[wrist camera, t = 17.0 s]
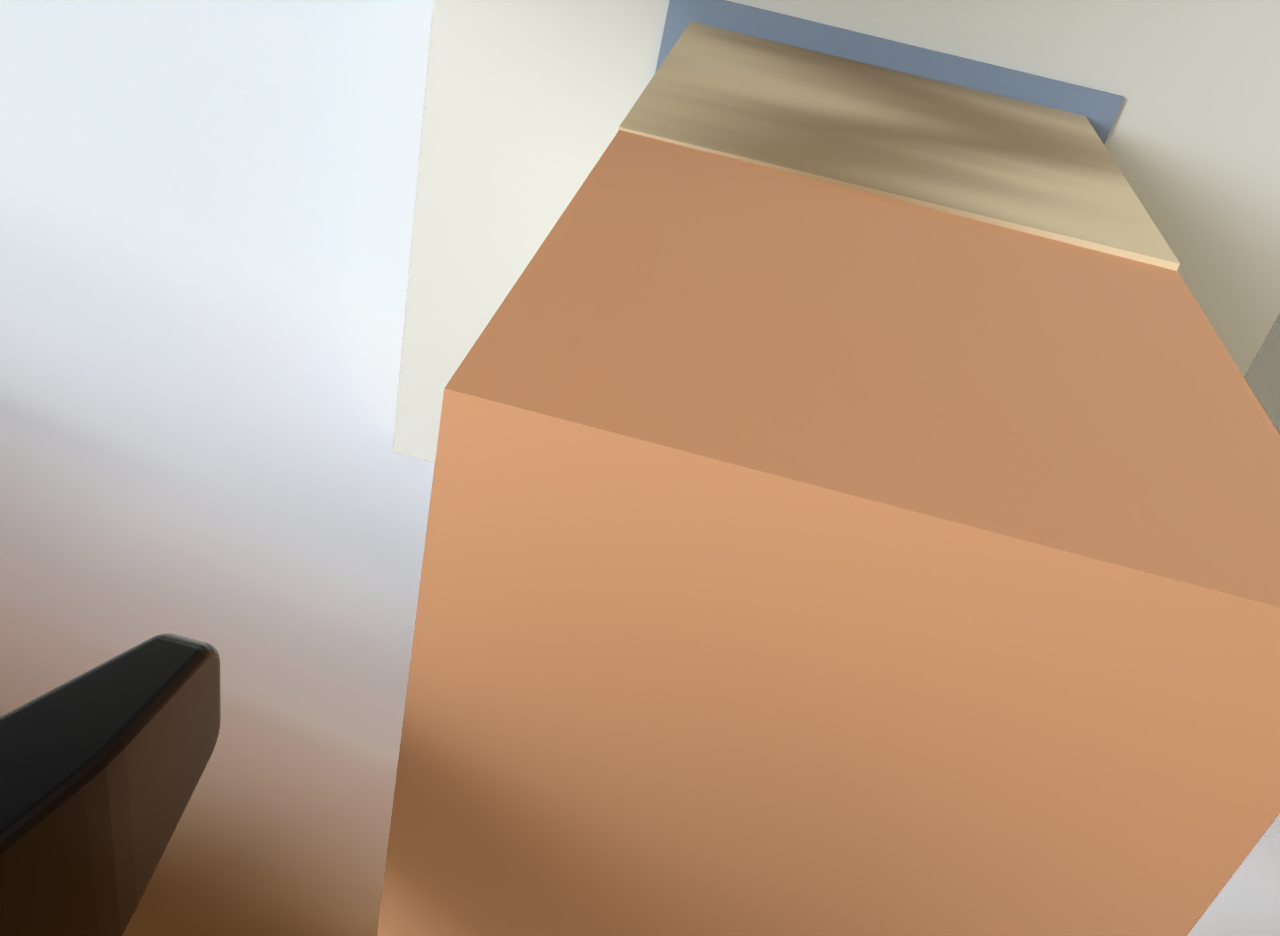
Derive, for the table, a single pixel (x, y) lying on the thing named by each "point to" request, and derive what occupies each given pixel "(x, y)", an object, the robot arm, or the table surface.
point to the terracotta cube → (835, 582)
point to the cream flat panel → (861, 31)
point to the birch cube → (897, 139)
